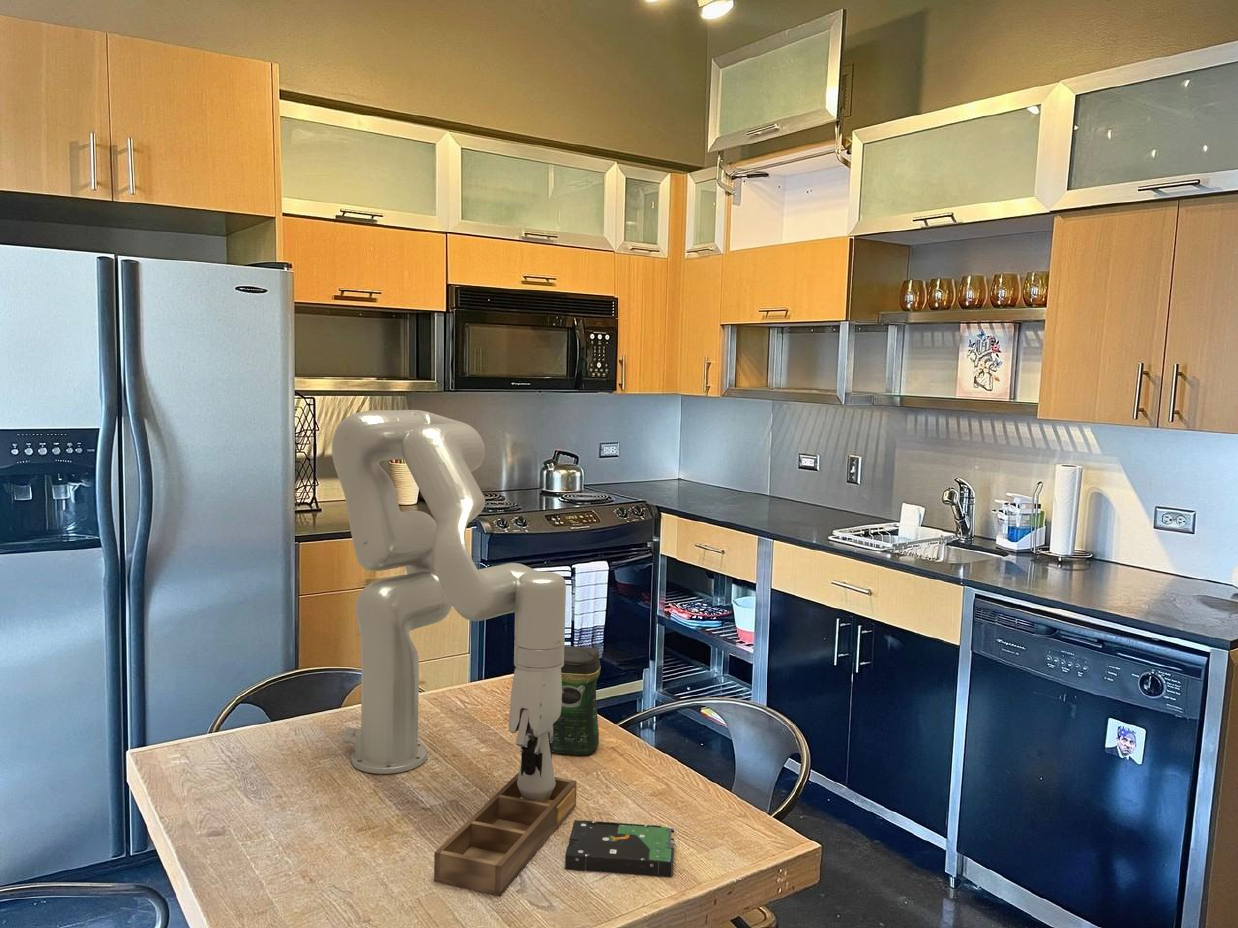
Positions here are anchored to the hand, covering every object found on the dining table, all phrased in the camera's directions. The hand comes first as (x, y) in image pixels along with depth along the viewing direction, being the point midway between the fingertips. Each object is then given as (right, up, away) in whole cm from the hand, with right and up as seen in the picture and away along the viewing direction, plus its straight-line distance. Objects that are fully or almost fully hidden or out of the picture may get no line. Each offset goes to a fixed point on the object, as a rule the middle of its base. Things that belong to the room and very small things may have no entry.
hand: (536, 771), depth 141 cm
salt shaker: (0, -4, 0) cm, 4 cm away
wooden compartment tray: (-3, -7, -8) cm, 11 cm away
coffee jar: (+4, -5, +26) cm, 27 cm away
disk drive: (+13, -9, -10) cm, 19 cm away
